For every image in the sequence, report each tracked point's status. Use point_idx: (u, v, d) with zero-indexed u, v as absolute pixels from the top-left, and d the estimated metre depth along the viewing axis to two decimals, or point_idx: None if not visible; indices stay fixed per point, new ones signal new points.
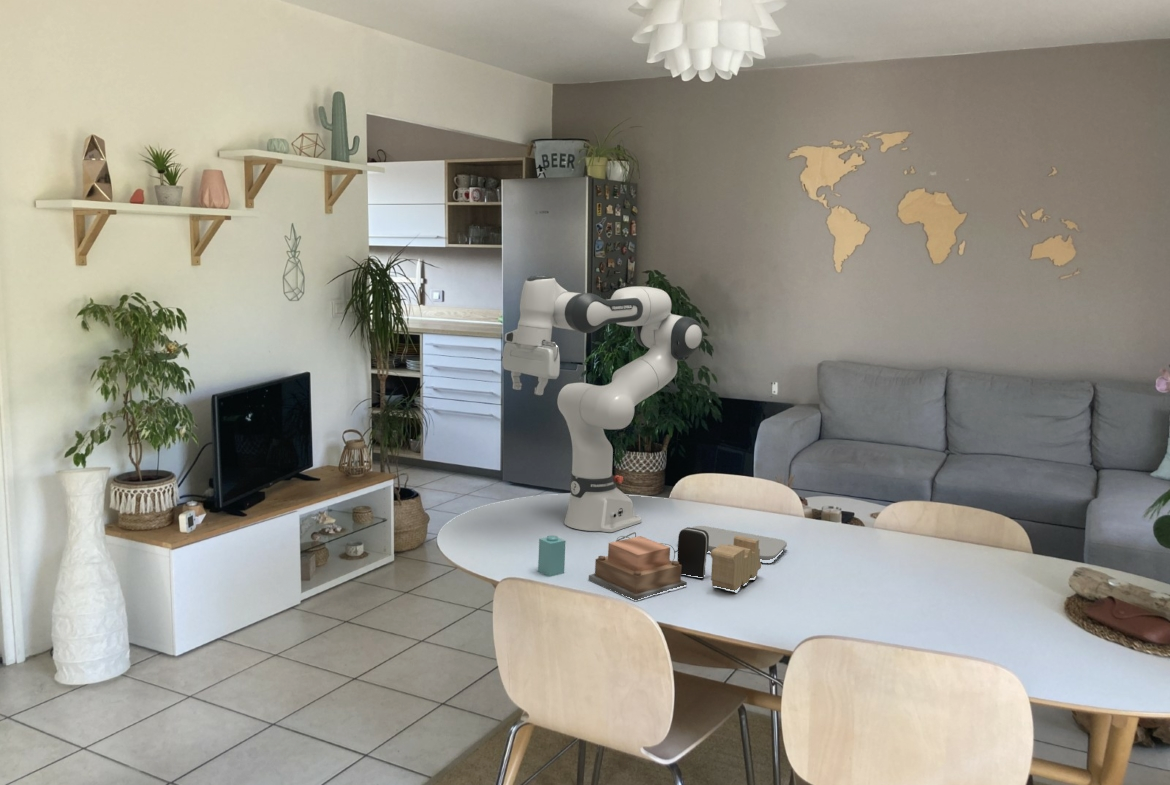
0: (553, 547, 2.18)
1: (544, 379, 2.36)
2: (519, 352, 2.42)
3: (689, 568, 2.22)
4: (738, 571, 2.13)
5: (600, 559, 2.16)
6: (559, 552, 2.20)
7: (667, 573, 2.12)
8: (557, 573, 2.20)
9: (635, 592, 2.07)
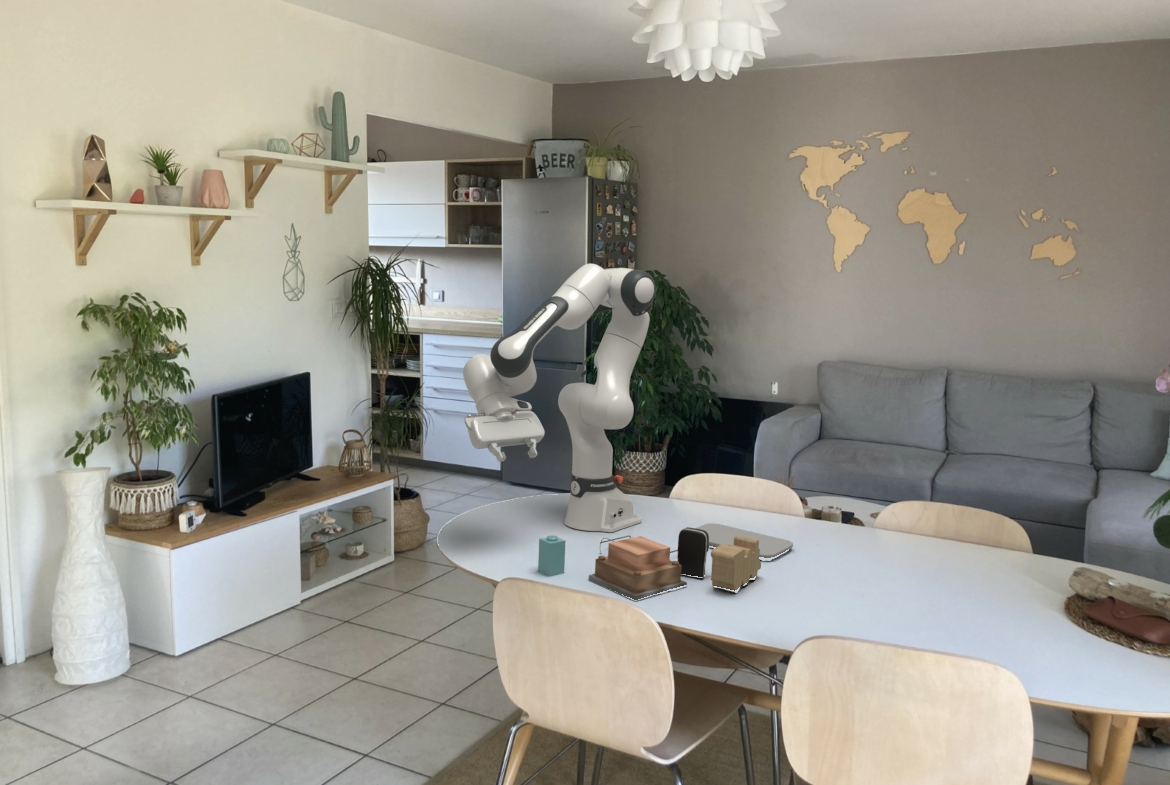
0: (553, 547, 2.18)
1: (489, 446, 2.27)
2: None
3: (689, 568, 2.22)
4: (738, 571, 2.13)
5: (600, 559, 2.16)
6: (559, 552, 2.20)
7: (667, 573, 2.12)
8: (557, 573, 2.20)
9: (635, 592, 2.07)
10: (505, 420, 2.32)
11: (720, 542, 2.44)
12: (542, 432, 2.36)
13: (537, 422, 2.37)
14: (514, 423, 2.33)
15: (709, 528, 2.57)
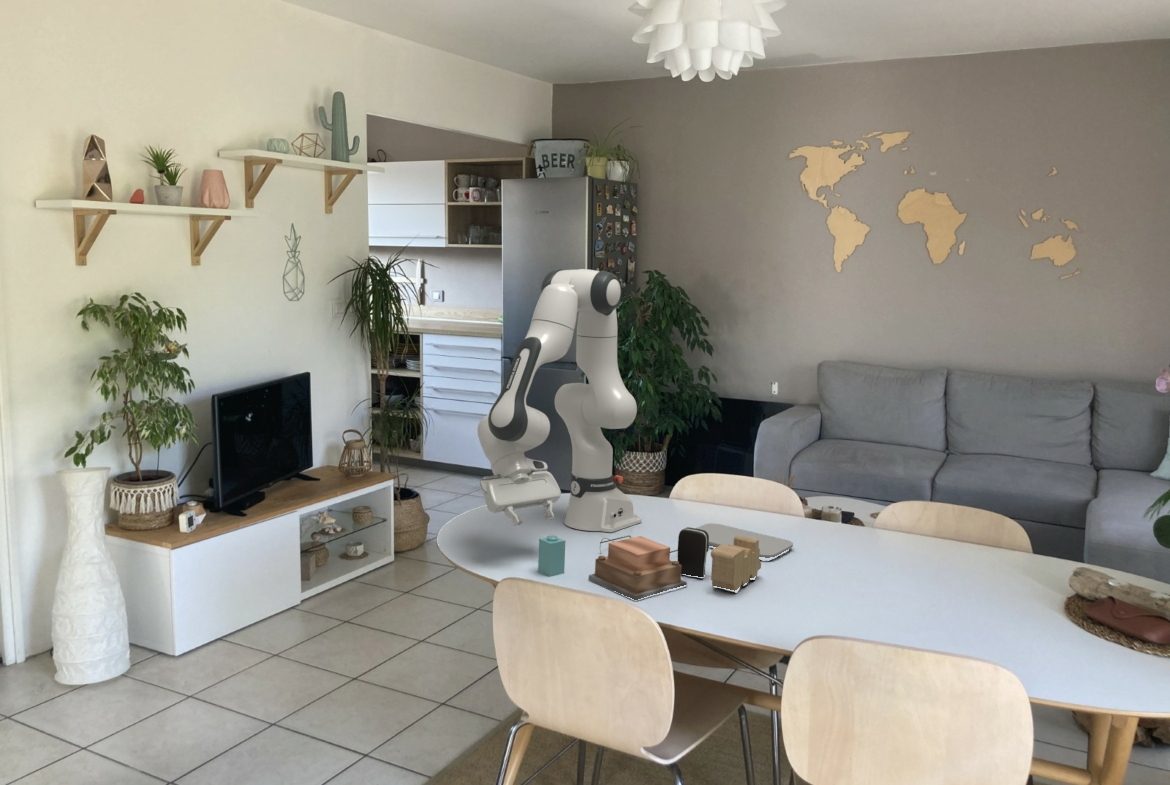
0: (553, 547, 2.18)
1: (505, 510, 2.23)
2: None
3: (689, 568, 2.22)
4: (738, 571, 2.13)
5: (600, 559, 2.16)
6: (559, 552, 2.20)
7: (667, 573, 2.12)
8: (557, 573, 2.20)
9: (635, 592, 2.07)
10: (521, 481, 2.28)
11: (720, 542, 2.44)
12: (558, 493, 2.32)
13: (553, 482, 2.33)
14: (530, 484, 2.30)
15: (709, 528, 2.57)
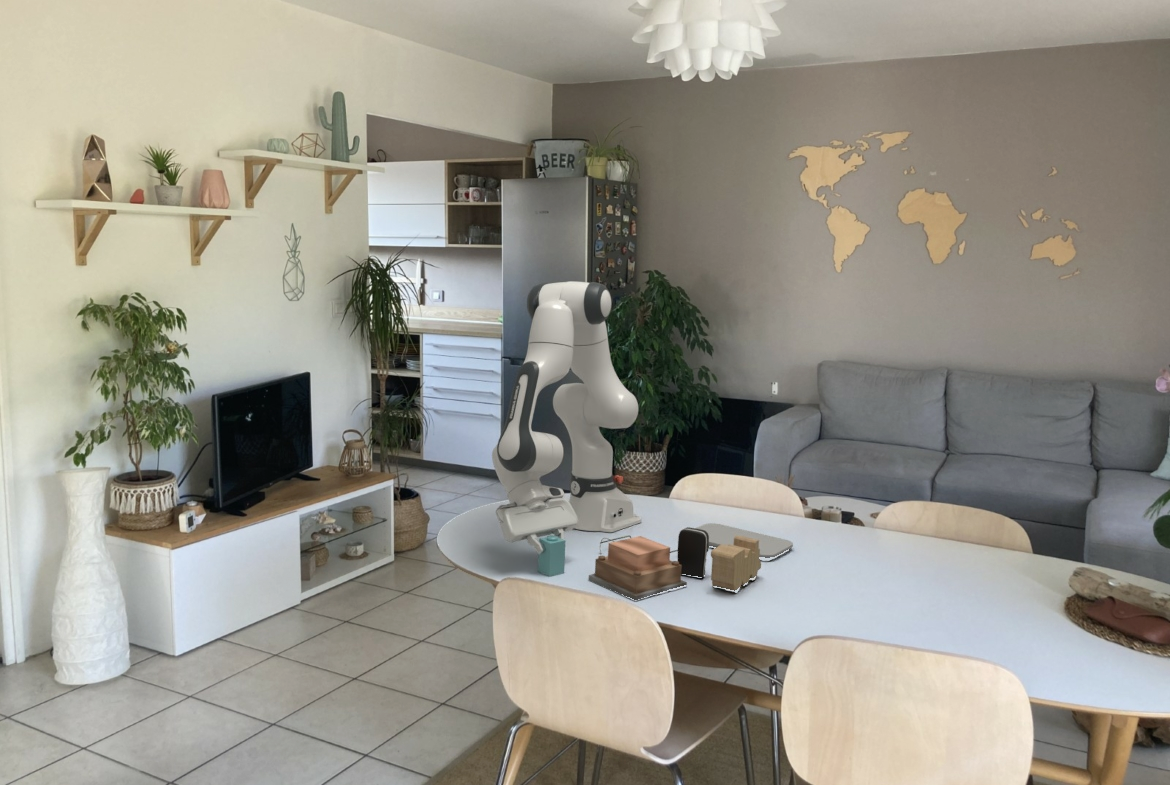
0: (553, 547, 2.18)
1: (529, 538, 2.20)
2: None
3: (689, 568, 2.22)
4: (738, 571, 2.13)
5: (600, 559, 2.16)
6: (559, 552, 2.20)
7: (667, 573, 2.12)
8: (557, 573, 2.20)
9: (635, 592, 2.07)
10: (537, 510, 2.24)
11: (720, 542, 2.44)
12: (575, 520, 2.28)
13: (570, 509, 2.29)
14: (547, 512, 2.25)
15: (709, 528, 2.57)
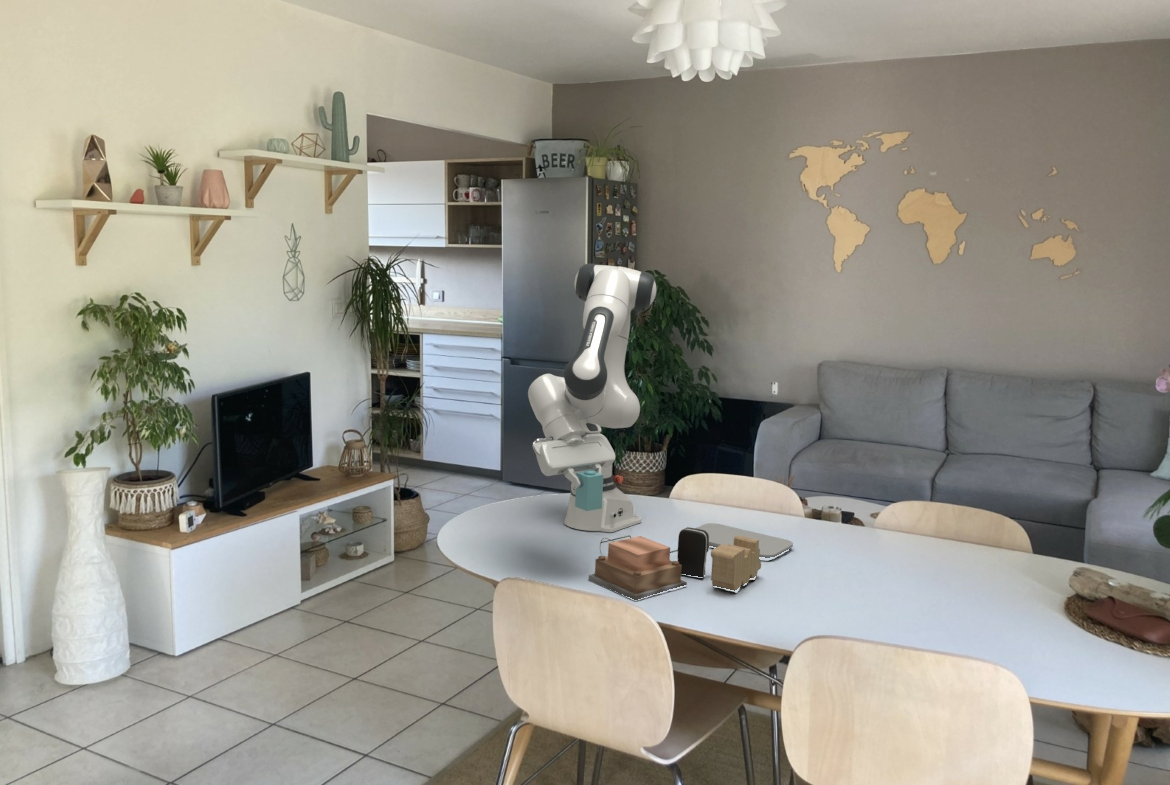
0: (591, 480, 2.14)
1: (566, 472, 2.15)
2: None
3: (689, 568, 2.22)
4: (738, 571, 2.13)
5: (600, 559, 2.16)
6: (596, 486, 2.15)
7: (667, 573, 2.12)
8: (595, 508, 2.16)
9: (635, 592, 2.07)
10: (575, 444, 2.19)
11: (720, 542, 2.44)
12: (613, 456, 2.23)
13: (607, 445, 2.24)
14: (584, 447, 2.21)
15: (709, 528, 2.57)
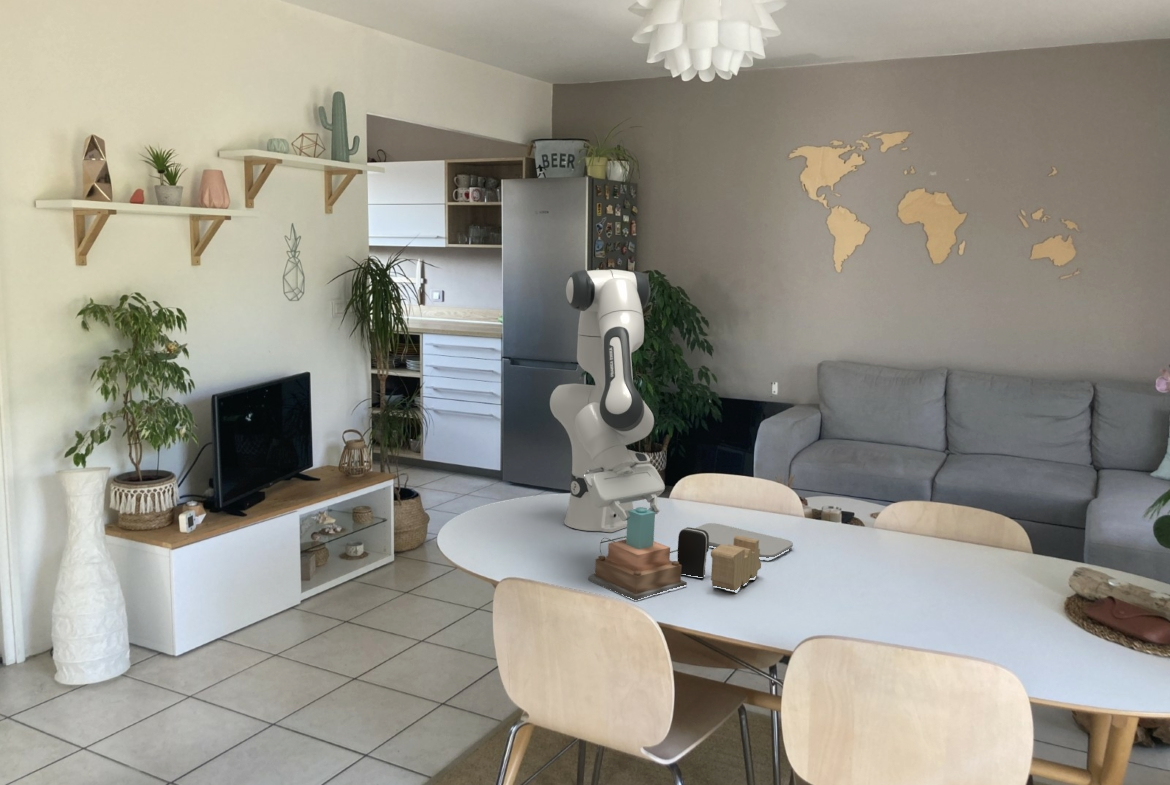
0: (643, 518, 2.12)
1: (612, 505, 2.12)
2: None
3: (689, 568, 2.22)
4: (738, 571, 2.13)
5: (600, 559, 2.16)
6: (648, 524, 2.13)
7: (667, 573, 2.12)
8: (646, 546, 2.14)
9: (635, 592, 2.07)
10: (625, 475, 2.17)
11: (720, 542, 2.44)
12: (662, 486, 2.21)
13: (656, 475, 2.22)
14: (634, 478, 2.19)
15: (709, 528, 2.57)
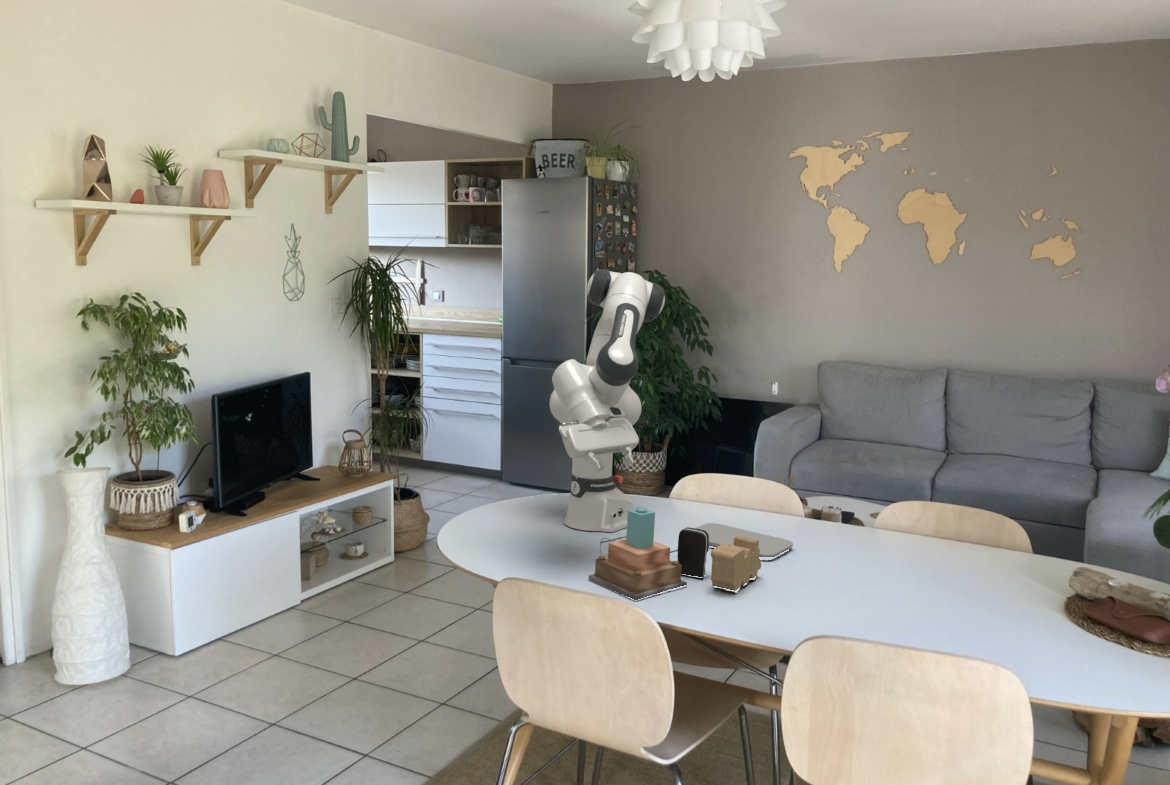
0: (643, 518, 2.12)
1: (586, 456, 2.18)
2: None
3: (689, 568, 2.22)
4: (738, 571, 2.13)
5: (600, 559, 2.16)
6: (648, 524, 2.13)
7: (667, 573, 2.12)
8: (646, 546, 2.14)
9: (635, 592, 2.07)
10: (599, 428, 2.23)
11: (720, 542, 2.44)
12: (636, 439, 2.27)
13: (631, 429, 2.28)
14: (608, 431, 2.24)
15: (709, 528, 2.57)
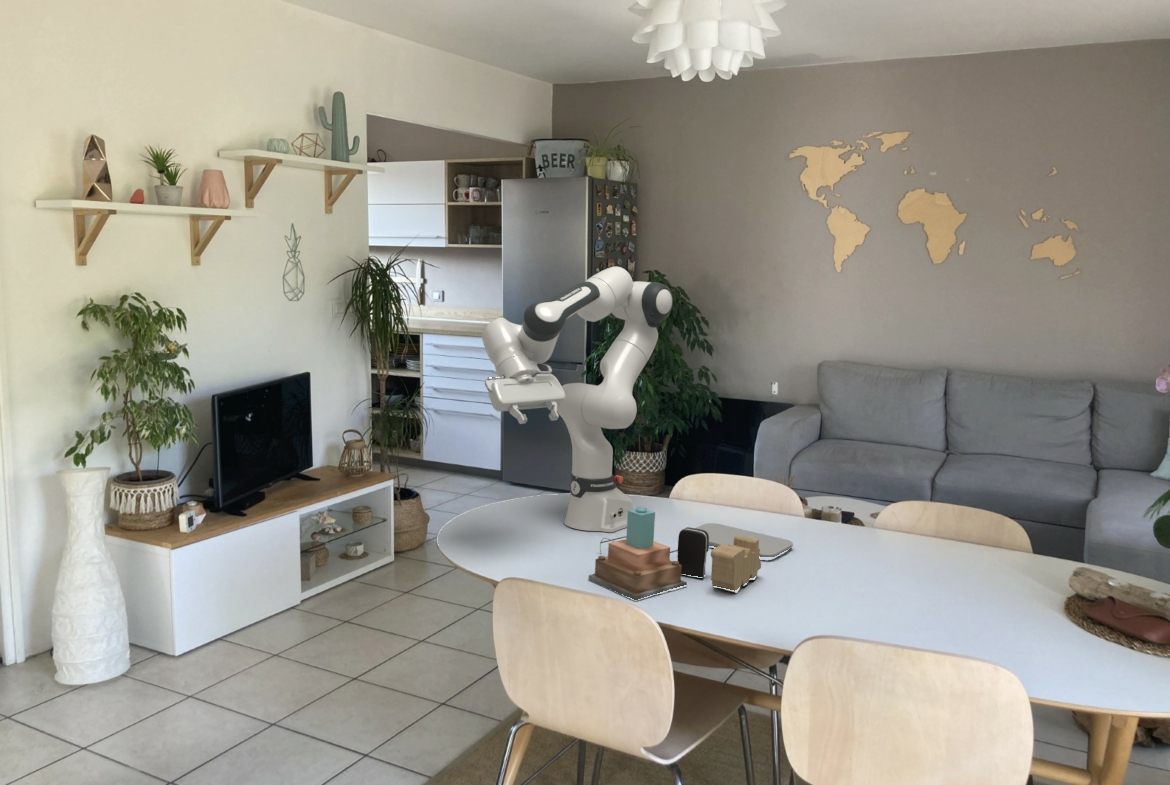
0: (643, 518, 2.12)
1: (510, 409, 2.24)
2: None
3: (689, 568, 2.22)
4: (738, 571, 2.13)
5: (600, 559, 2.16)
6: (648, 524, 2.13)
7: (667, 573, 2.12)
8: (646, 546, 2.14)
9: (635, 592, 2.07)
10: (526, 383, 2.30)
11: (720, 542, 2.44)
12: (563, 395, 2.33)
13: (558, 385, 2.34)
14: (535, 386, 2.31)
15: (709, 528, 2.57)
